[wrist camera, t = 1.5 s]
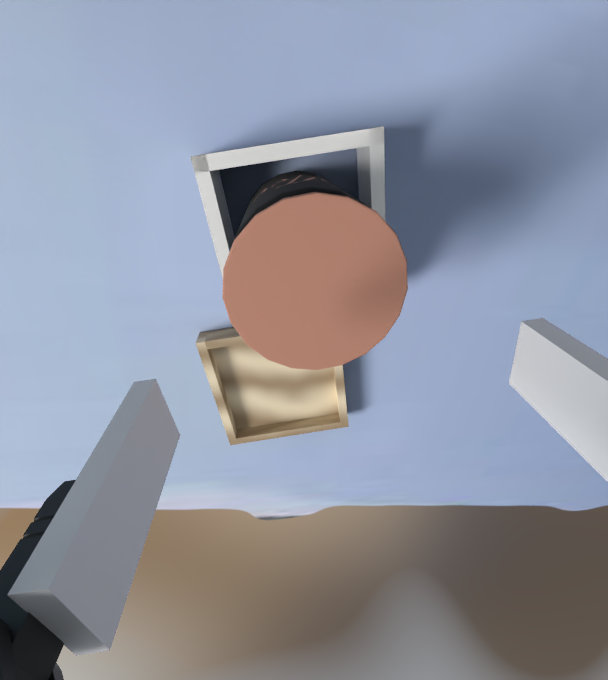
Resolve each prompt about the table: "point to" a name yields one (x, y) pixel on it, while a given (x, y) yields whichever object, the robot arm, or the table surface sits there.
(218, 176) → the frame
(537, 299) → the table surface
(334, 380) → the tray
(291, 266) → the coffee jar
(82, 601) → the robot arm
